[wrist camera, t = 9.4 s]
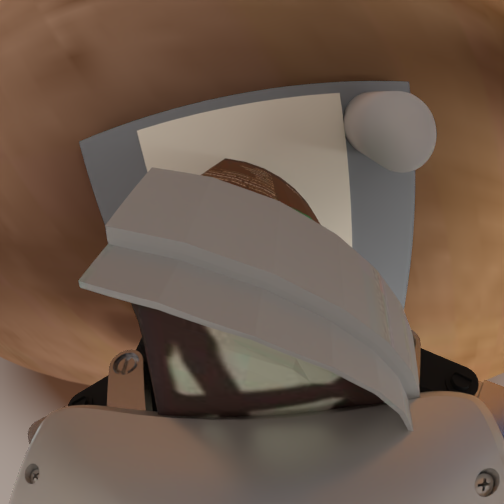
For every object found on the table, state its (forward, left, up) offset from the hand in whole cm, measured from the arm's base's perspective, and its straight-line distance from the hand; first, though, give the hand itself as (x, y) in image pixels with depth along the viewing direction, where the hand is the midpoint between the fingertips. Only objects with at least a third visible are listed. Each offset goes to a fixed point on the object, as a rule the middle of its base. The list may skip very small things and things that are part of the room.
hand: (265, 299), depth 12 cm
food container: (-1, 0, -3) cm, 3 cm away
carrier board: (0, 0, -5) cm, 5 cm away
